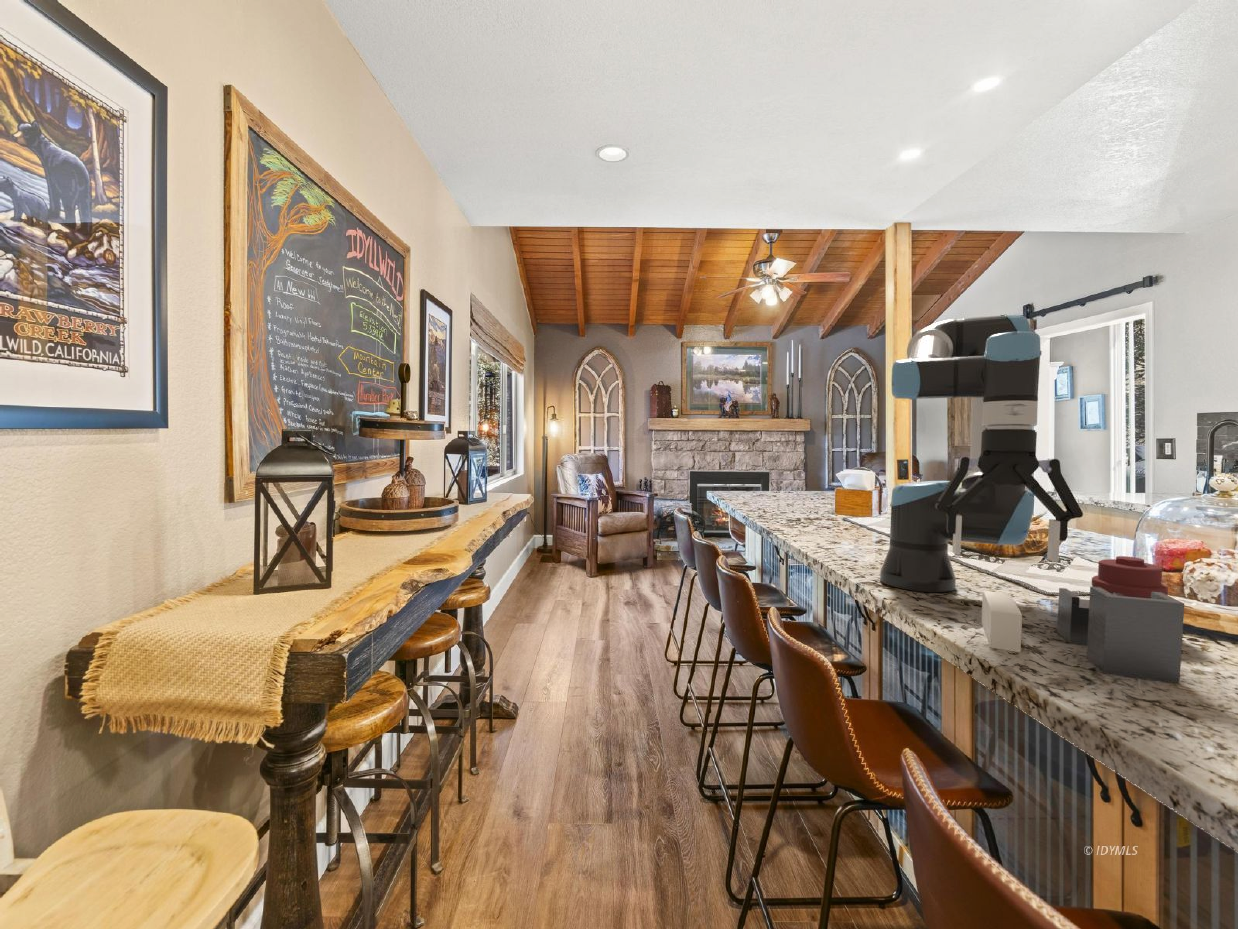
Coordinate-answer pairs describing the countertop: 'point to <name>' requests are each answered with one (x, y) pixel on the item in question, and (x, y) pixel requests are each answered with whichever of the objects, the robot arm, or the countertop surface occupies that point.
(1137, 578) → the mechanical component
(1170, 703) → the countertop surface
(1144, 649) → the cup bracket
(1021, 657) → the countertop surface
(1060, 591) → the grey channel block
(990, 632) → the cream rectangular block
